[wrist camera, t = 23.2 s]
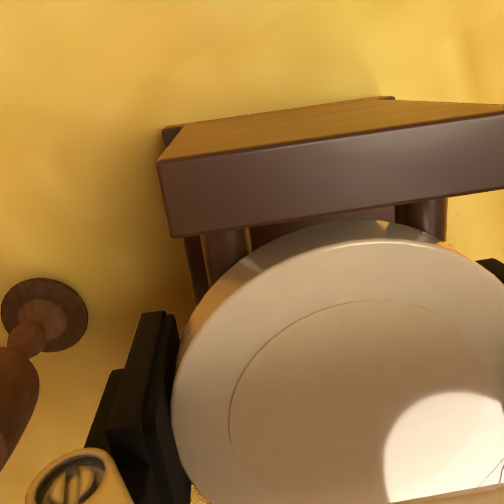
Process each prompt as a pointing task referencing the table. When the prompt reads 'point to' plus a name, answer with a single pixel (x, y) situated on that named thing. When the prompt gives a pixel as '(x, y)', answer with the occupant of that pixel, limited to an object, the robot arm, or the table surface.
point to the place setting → (32, 347)
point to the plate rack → (321, 172)
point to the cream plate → (343, 371)
